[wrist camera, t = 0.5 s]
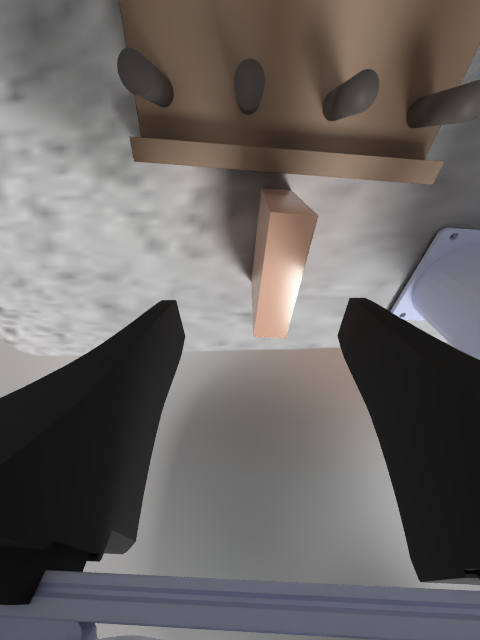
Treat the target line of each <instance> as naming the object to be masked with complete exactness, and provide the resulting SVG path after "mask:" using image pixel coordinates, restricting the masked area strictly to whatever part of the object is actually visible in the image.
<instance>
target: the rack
mask: <svg viewBox="0 0 480 640" xmlns="http://www.w3.org/2000/svg"><path fill="white" fill-rule="evenodd" d="M119 5H120V11H121V17H122V23H123V29H124V35H125V41H126V47H127V48H125V49H124V50H122V51H121V53H120V54H119V57H118V63H117V66H118V73H119V76H120V79H121V81H122V83H123V85H124V86H125V87H126V88H127V90H129V91H130V92H131V93H133V94H134V95H135V101H136V107H137V113H138V119H139V125H140V131H141V137H142V138H140V137H130V142H131V147H132V153H133V158H134V161H135V162H148V163H161V164H174V165H186V166H199V167H212V168H225V169H238V170H250V171H263V172H276V173H289V174H302V175H314V176H327V177H340V178H353V179H366V180H379V181H391V182H404V183H417V184H430V185H433V183H434V181H435V179H436V177H437V175H438V173H439V171H440V169H441V168H442V166H443V164H444V162H439V161H427V160H425V158H426V156H427V154H428V152H429V150H430V148H431V146H432V144H433V141H434V139H435V137H436V135H437V133H438V131H439V129H440V127H441V125H446V124H454V123H462V122H468V121H471V120H473V119H474V118H476V117H477V116H478V115H479V114H480V80H478V81H474V82H471V83H467V84H464V85H461V86H460V84H461V82H462V80H463V78H464V76H465V74H466V72H467V70H468V68H469V65H470V63H471V61H472V59H473V57H474V55H475V53H476V51H477V49H478V47H479V44H480V0H119Z"/></svg>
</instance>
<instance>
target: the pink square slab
mask: <svg viewBox="0 0 480 640" xmlns="http://www.w3.org/2000/svg"><path fill="white" fill-rule="evenodd" d="M317 218H318V215H317V214H316V213H315V212H314V211H313V210H312V209H311V208H310V207H309V206H307V205H306V204H305V203H304V202H303V201H302V200H301V199H300V198H299V197H298V196H297V195H296V194H295V193H294V192H292V191H291V190H280V189H267V188H261V196H260V206H259V215H258V224H257V234H256V243H255V252H254V262H253V271H252V281H251V285H252V312H253V336H254V337H270V338H286V336H287V332H288V328H289V325H290V321H291V317H292V313H293V309H294V306H295V302H296V298H297V294H298V291H299V287H300V283H301V279H302V275H303V272H304V268H305V264H306V260H307V256H308V253H309V249H310V245H311V241H312V237H313V234H314V230H315V226H316V222H317Z"/></svg>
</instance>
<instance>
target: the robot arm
mask: <svg viewBox="0 0 480 640" xmlns="http://www.w3.org/2000/svg"><path fill="white" fill-rule="evenodd" d="M452 234H454V236H453V237H451V238H450V236H451V235H452ZM400 314H401V315H400ZM403 319H405V320H420V321H427V322H428V323H429V324H430V325H431V326H432V327H433V328H434V329H435V330H436V331H438V332H439V333H440V334H441V335H442V336H443V337H444V338H445V339H446V340H447V341H448V342H449V343H450V344H451V345H452V346H453V347H452V346H450V345H448V344H446V343H444V342H442V341H441V340H439V339H437V338H435V337H433V336H431V335H429V334H428V333H426V332H424V331H422V330H420V329H419V328H417V327H415V326H414V325H412V324H410V323H408V322H407V321H405V320H403ZM338 339H339V343H340V346H341V350H342V353H343V356H344V358H345V360H346V363H347V365H348V367H349V369H350V372H351V374H352V375H353V378H354V380H355V382H356V384H357V386H358V389H359V391H360V393H361V395H362V397H363V399H364V402H365V404H366V406H367V409H368V411H369V413H370V416H371V419H372V422H373V425H374V427H375V430H376V433H377V436H378V439H379V442H380V445H381V449H382V451H383V455H384V458H385V461H386V464H387V468H388V471H389V475H390V478H391V482H392V486H393V489H394V493H395V496H396V500H397V503H398V508H399V512H400V516H401V520H402V524H403V528H404V532H405V536H406V540H407V545H408V549H409V554H410V558H411V561H412V564H413V566H414V569H415V571H416V573H417V576H418V579H419V580H420V582H429V583H450V584H452V583H453V584H472V585H480V230H474V229H460V228H444V229H442V230H441V231H439V232H438V234H437V235H436V237H435V238H434V240H433V242H432V243H431V245H430V247H429V248H428V250H427V252H426V253H425V255H424V257H423V258H422V260H421V262H420V263H419V265H418V267H417V268H416V270H415V271H414V273H413V275H412V276H411V278H410V280H409V281H408V283H407V285H406V286H405V288H404V290H403V291H402V293H401V295H400V296H399V298H398V300H397V301H396V303H395V304H394V306H393V308H392V309H391V311H388V310H387V309H385V308H383V307H381V306H380V305H378V304H376V303H374V302H372V301H371V300H368V299H366V298H350V299H349V302H348V305H347V308H346V311H345V314H344V317H343V320H342V323H341V326H340V329H339V333H338ZM184 340H185V334H184V330H183V326H182V322H181V318H180V314H179V310H178V306H177V302H176V300H162V301H160V302H159V303H157V304H156V305H154V306H153V307H152V308H150V309H149V310H148V311H146V312H145V313H144V314H142V315H141V316H140V317H138V318H137V319H136V320H134V321H133V322H132V323H130V324H129V325H128V326H126V327H125V328H124V329H122V330H121V331H119V332H118V333H117V334H115V335H114V336H112V337H111V338H109V339H108V340H106V341H105V342H104V343H102V344H101V345H99V346H98V347H96V348H94V349H93V350H91V351H90V352H88V353H86V354H85V355H83V356H81V357H80V358H78V359H76V360H75V361H73V362H71V363H69V364H68V365H66V366H64V367H62V368H60V369H58V370H56V371H54V372H52V373H50V374H49V375H47V376H45V377H43V378H41V379H39V380H37V381H35V382H33V383H31V384H29V385H27V386H25V387H23V388H21V389H19V390H16V391H14V392H12V393H10V394H8V395H6V396H4V397H1V398H0V640H160V639H155V638H149V637H145V636H117V637H109V638H103V639H98V638H97V635H96V625H95V623H107V624H123V625H140V626H157V627H174V628H191V629H207V630H224V631H242V632H259V633H275V634H292V635H309V636H326V637H343V638H360V639H376V640H480V591H465V590H445V589H444V590H443V589H424V588H403V587H381V586H362V585H339V584H320V583H299V582H277V581H257V580H236V579H215V578H195V577H173V576H153V575H132V574H131V575H130V574H111V573H91V572H83V569H84V566H85V564H86V561H98V562H99V561H100V560H101V559H102V556H103V554H104V553H109V554H124V553H125V552H127V551H128V550H129V549H130V548H131V547H132V545H133V544H134V543H135V542H136V537H137V530H138V524H139V518H140V513H141V507H142V501H143V495H144V490H145V485H146V480H147V474H148V469H149V465H150V460H151V455H152V451H153V446H154V442H155V437H156V433H157V429H158V425H159V421H160V417H161V413H162V410H163V407H164V403H165V400H166V398H167V395H168V392H169V389H170V386H171V384H172V380H173V378H174V375H175V372H176V370H177V367H178V364H179V361H180V358H181V354H182V350H183V345H184Z"/></svg>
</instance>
